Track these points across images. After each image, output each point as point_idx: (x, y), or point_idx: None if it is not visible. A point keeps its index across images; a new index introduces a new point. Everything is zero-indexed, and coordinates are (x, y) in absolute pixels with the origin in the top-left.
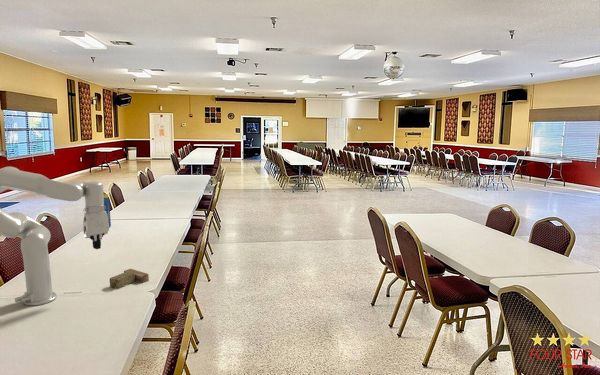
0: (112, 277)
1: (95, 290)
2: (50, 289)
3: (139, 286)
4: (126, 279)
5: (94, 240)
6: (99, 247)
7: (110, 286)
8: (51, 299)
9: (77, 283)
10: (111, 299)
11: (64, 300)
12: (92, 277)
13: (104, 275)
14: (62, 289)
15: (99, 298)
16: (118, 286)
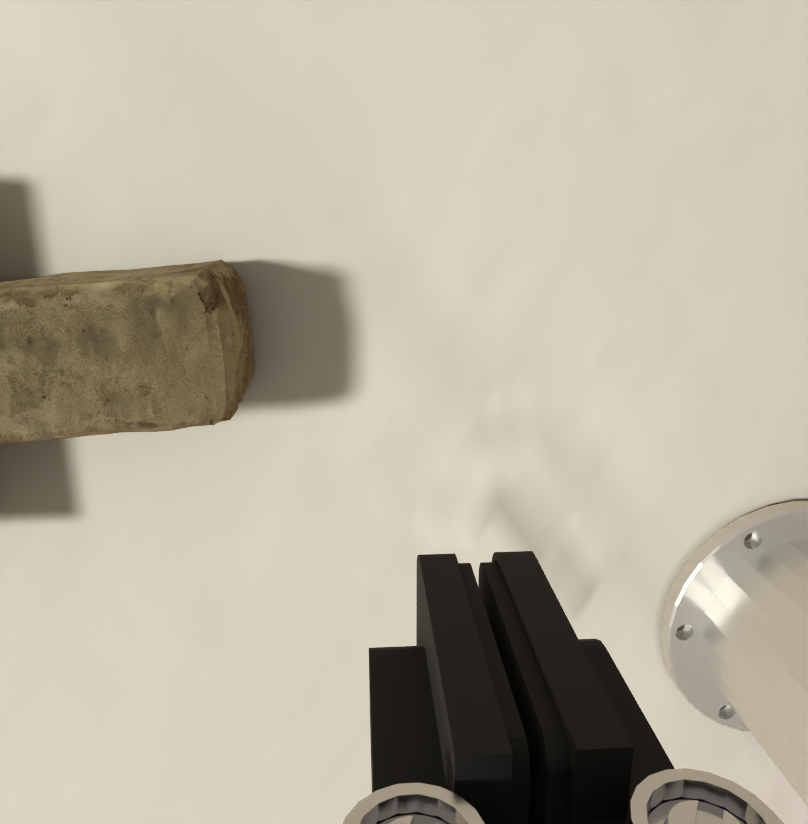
0: (195, 407)
1: (393, 426)
2: (797, 598)
3: (8, 102)
4: (69, 280)
5: (752, 814)
6: (460, 570)
7: (254, 368)
8: (775, 512)
9: None
10: (443, 39)
11: (695, 438)
12: (219, 753)
13: (110, 717)
14: None
15: (497, 189)
16: (211, 262)
